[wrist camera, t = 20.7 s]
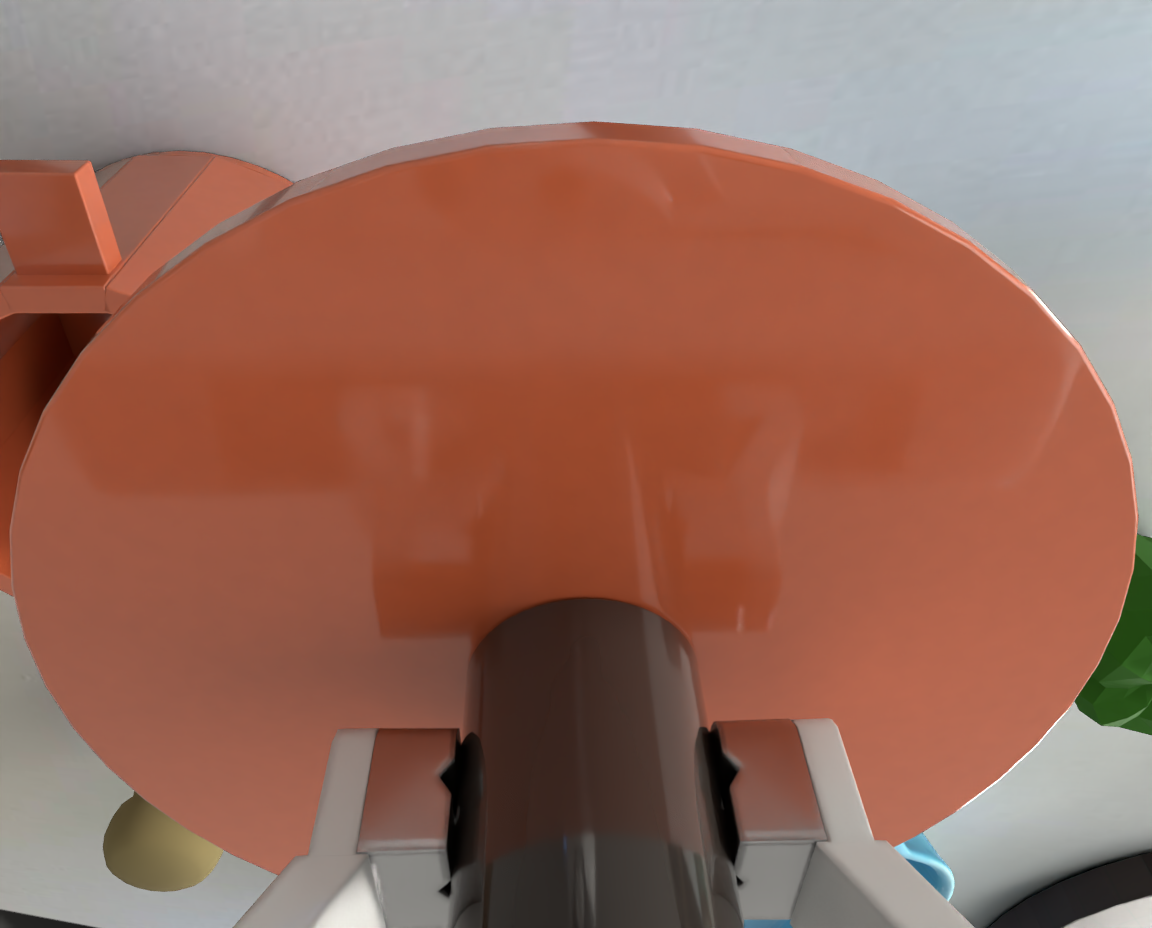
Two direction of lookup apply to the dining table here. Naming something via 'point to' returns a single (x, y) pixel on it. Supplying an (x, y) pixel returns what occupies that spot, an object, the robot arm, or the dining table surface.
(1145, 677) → the bell pepper
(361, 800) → the robot arm
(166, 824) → the olive pawn piece
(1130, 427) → the dining table surface
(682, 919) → the pot lid
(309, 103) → the dining table surface
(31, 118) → the dining table surface
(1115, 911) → the disc
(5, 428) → the pot
